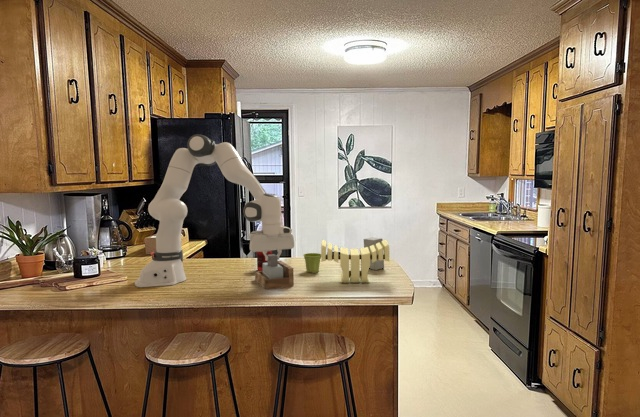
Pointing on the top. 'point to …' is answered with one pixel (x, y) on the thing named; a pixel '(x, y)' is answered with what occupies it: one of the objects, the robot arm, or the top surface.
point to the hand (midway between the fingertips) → (272, 259)
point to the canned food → (261, 259)
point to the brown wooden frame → (278, 282)
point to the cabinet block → (272, 268)
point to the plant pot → (312, 262)
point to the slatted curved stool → (355, 260)
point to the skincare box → (373, 241)
